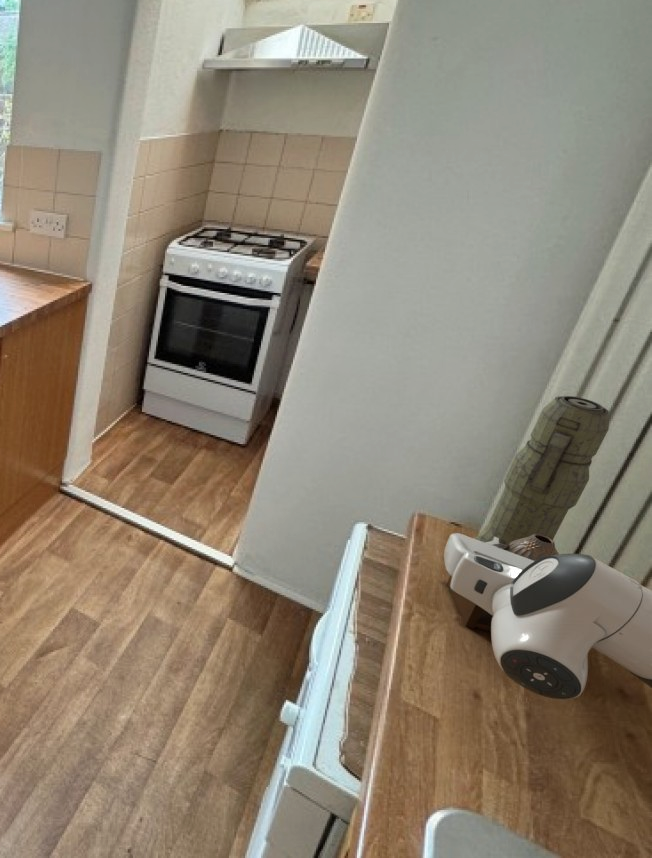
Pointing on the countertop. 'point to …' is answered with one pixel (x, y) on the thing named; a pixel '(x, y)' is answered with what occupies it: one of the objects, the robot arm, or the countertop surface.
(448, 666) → the countertop surface
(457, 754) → the countertop surface
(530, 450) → the carved stone statue
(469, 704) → the countertop surface
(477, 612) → the brown wooden box
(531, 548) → the vase
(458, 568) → the robot arm
